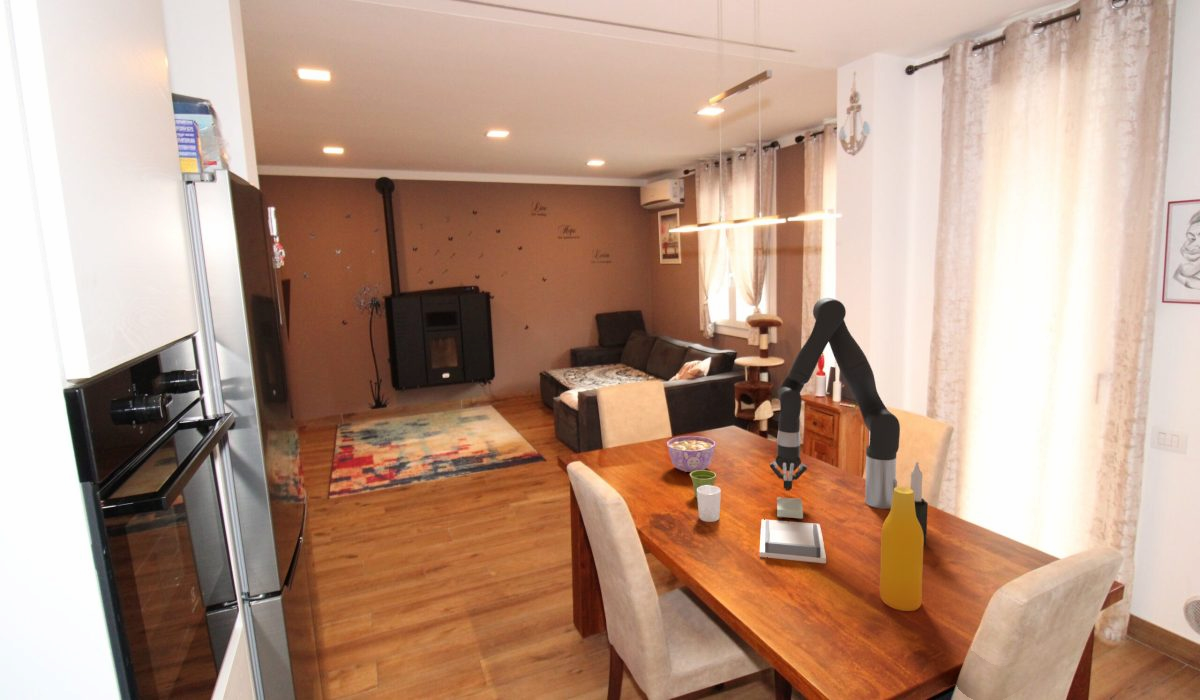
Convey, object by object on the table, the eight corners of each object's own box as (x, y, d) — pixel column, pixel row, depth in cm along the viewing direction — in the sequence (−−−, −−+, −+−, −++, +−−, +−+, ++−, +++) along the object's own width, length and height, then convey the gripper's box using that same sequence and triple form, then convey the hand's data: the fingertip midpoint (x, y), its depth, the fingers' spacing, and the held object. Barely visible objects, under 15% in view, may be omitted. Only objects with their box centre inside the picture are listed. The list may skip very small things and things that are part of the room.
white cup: (694, 513, 195) (694, 486, 194) (717, 511, 196) (716, 484, 194) (700, 523, 188) (700, 495, 186) (724, 521, 188) (723, 493, 187)
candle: (917, 548, 166) (919, 466, 162) (900, 540, 170) (903, 461, 166) (927, 543, 168) (931, 462, 164) (911, 536, 172) (914, 457, 169)
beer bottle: (903, 616, 135) (907, 500, 131) (871, 596, 143) (873, 487, 139) (930, 605, 138) (934, 492, 134) (897, 587, 147) (900, 480, 143)
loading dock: (819, 526, 184) (819, 510, 183) (825, 566, 160) (826, 548, 159) (761, 522, 189) (761, 506, 188) (759, 559, 165) (759, 542, 164)
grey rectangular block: (801, 508, 195) (801, 499, 195) (802, 521, 186) (802, 511, 185) (777, 506, 198) (777, 497, 197) (777, 519, 188) (777, 509, 188)
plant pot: (690, 491, 214) (689, 469, 213) (715, 492, 213) (715, 469, 212) (690, 501, 205) (690, 479, 204) (717, 502, 204) (716, 479, 202)
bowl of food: (695, 482, 223) (694, 454, 221) (657, 470, 238) (656, 444, 236) (725, 468, 236) (725, 442, 234) (688, 458, 251) (687, 433, 249)
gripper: (808, 440, 199) (806, 487, 202) (768, 438, 203) (768, 484, 206) (809, 447, 192) (808, 495, 195) (768, 444, 196) (768, 492, 199)
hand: (787, 489), depth 200 cm, fingers closed
